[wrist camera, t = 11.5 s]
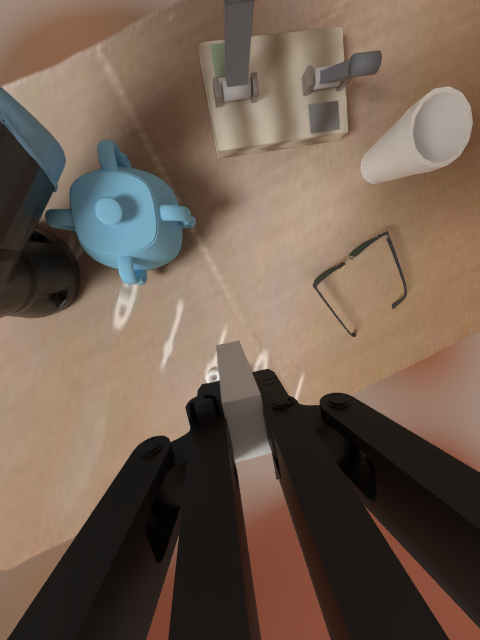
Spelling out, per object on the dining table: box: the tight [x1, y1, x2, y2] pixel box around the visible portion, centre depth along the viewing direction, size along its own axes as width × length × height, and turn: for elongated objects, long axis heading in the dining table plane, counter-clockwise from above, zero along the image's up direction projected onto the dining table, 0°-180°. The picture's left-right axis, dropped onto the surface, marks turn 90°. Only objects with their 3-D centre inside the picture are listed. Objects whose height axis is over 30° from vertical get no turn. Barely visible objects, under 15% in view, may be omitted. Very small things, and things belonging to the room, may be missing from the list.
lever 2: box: [312, 51, 382, 90], centre depth 33 cm, size 4×2×12 cm, turn 100°
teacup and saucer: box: [206, 364, 219, 383], centre depth 50 cm, size 9×8×4 cm
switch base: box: [199, 26, 350, 159], centre depth 38 cm, size 22×14×5 cm, turn 100°
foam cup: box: [360, 86, 473, 184], centre depth 39 cm, size 10×9×13 cm
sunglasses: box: [313, 231, 407, 337], centre depth 48 cm, size 16×17×5 cm
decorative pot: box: [45, 140, 196, 285], centre depth 36 cm, size 16×16×14 cm
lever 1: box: [221, 0, 254, 102], centre depth 31 cm, size 4×2×12 cm, turn 100°
